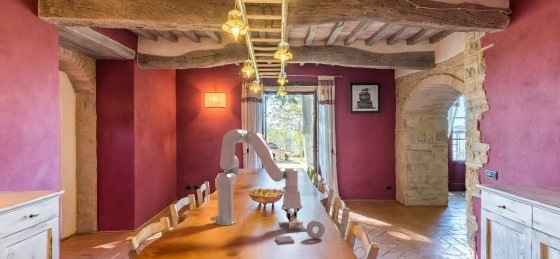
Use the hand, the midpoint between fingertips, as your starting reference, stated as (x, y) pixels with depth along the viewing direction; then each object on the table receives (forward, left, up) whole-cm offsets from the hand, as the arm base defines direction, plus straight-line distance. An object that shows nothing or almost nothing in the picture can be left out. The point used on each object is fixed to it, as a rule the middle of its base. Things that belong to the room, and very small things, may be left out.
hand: (291, 219), depth 202 cm
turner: (0, 0, -2) cm, 2 cm away
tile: (-11, -21, -4) cm, 24 cm away
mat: (0, -1, -4) cm, 5 cm away
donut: (+6, -25, -5) cm, 26 cm away
